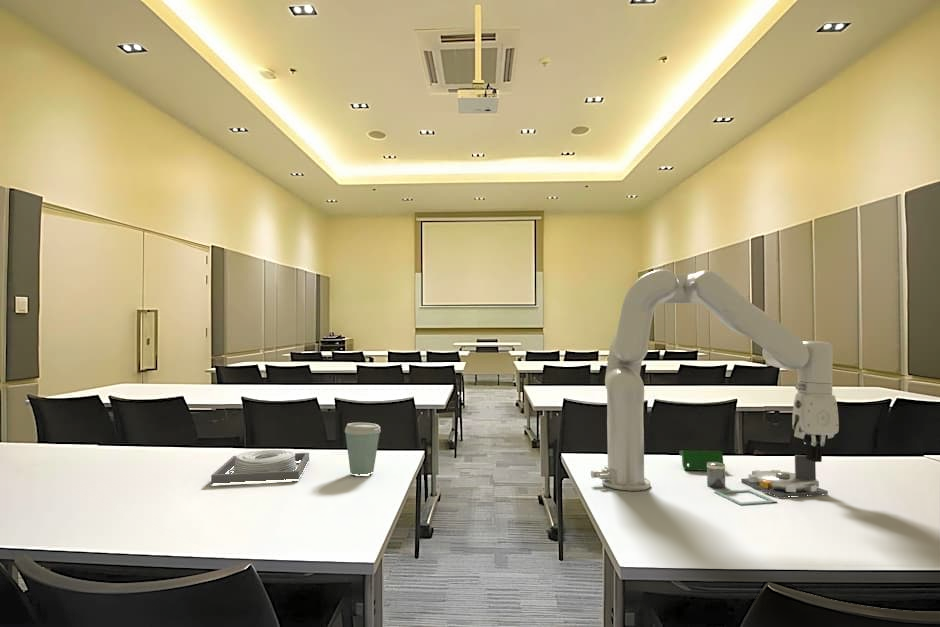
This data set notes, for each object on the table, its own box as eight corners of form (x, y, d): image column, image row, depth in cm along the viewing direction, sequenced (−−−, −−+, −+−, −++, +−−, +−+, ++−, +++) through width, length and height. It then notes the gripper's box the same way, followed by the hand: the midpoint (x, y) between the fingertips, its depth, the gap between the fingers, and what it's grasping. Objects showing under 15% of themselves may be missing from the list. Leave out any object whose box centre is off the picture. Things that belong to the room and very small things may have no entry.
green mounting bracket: (712, 482, 163) (722, 454, 165) (718, 483, 157) (728, 454, 159) (673, 465, 166) (683, 437, 168) (677, 465, 160) (688, 436, 162)
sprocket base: (779, 498, 134) (778, 493, 134) (741, 482, 147) (741, 478, 147) (827, 494, 136) (827, 490, 136) (786, 479, 150) (786, 475, 150)
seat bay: (740, 505, 128) (740, 504, 128) (714, 492, 138) (714, 491, 138) (777, 502, 130) (777, 501, 130) (749, 490, 140) (749, 489, 140)
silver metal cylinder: (713, 489, 141) (713, 466, 142) (703, 484, 146) (703, 462, 146) (729, 488, 142) (728, 465, 142) (718, 483, 147) (718, 461, 147)
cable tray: (211, 486, 146) (211, 475, 146) (233, 465, 169) (233, 455, 169) (298, 481, 150) (298, 471, 150) (309, 461, 173) (309, 452, 173)
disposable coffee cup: (363, 467, 165) (363, 418, 165) (388, 473, 159) (388, 422, 159) (336, 475, 156) (336, 424, 157) (362, 481, 150) (362, 427, 150)
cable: (220, 476, 157) (221, 455, 157) (271, 463, 172) (271, 444, 172) (258, 485, 148) (259, 463, 148) (308, 471, 162) (308, 451, 163)
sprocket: (827, 495, 132) (827, 464, 132) (755, 489, 137) (754, 459, 137) (808, 477, 147) (807, 449, 147) (743, 473, 152) (743, 446, 152)
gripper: (800, 390, 133) (799, 465, 133) (852, 391, 136) (851, 463, 135) (778, 387, 140) (777, 457, 140) (827, 387, 143) (827, 456, 143)
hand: (813, 460), depth 138 cm, fingers closed
